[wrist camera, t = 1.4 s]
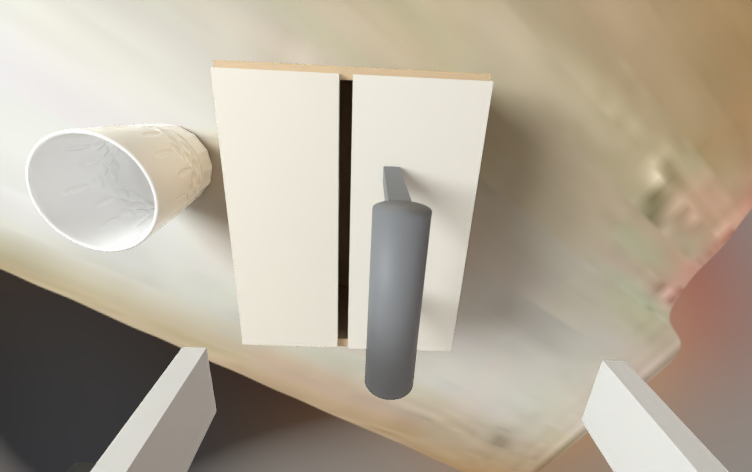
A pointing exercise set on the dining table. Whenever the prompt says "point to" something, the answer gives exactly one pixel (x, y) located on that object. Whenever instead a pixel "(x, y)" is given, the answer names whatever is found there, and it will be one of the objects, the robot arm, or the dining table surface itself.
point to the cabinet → (291, 193)
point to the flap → (410, 217)
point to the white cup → (116, 181)
